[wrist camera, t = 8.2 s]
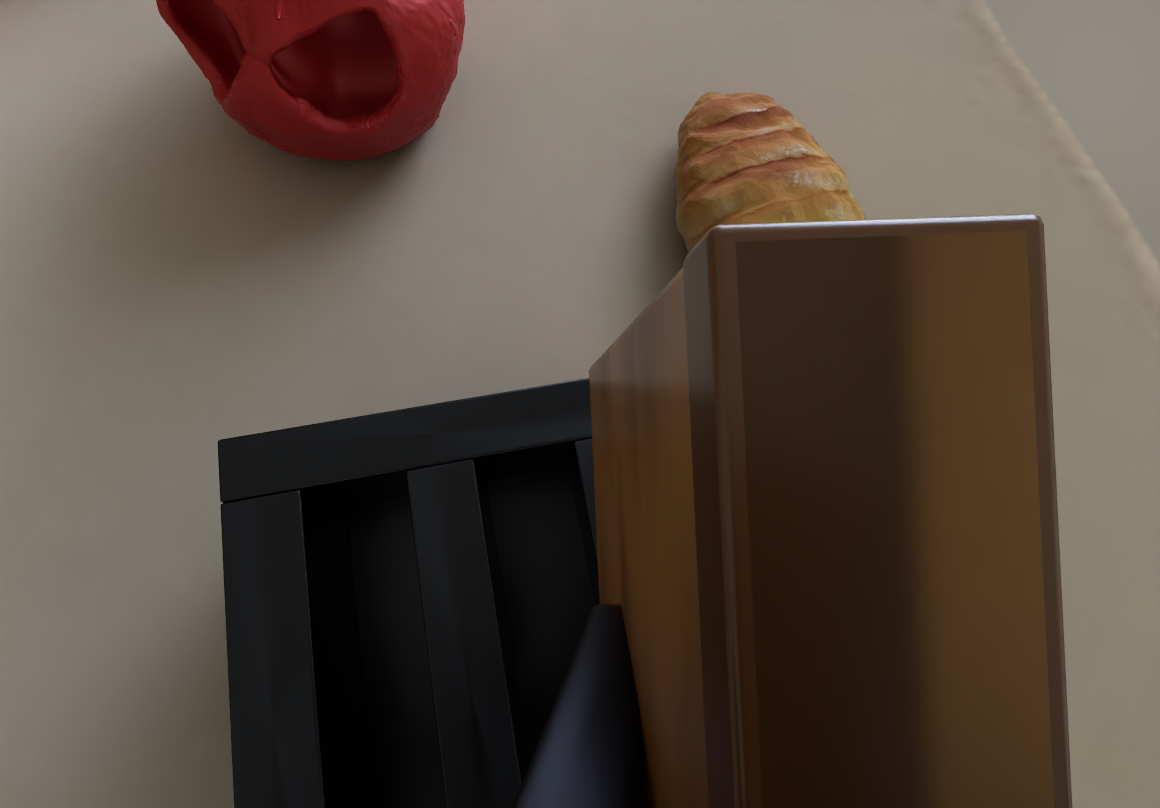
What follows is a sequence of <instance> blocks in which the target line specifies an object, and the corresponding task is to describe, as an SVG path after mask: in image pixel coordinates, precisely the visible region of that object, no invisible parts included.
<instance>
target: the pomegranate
mask: <svg viewBox="0 0 1160 808" xmlns="http://www.w3.org/2000/svg"><path fill="white" fill-rule="evenodd" d="M156 1H157V6H158V10H159V13H160V15H161V16H162V18H163V19H164V20H165V22H166V23H167V24H168V25H169V27H170V28H171V29H172V30H173V32H174V33H175V34H176V35H177V36H178V38H179V39H180V41H181V42H182V43H183V45H184V46H185V48H186V49H187V51H188V53H189V54H190V55H191V57H192V58H193V60H194V61H195V62H196V64H197V65H198V66H199V68H200V69H201V70H202V72H203V74H204V75H205V77H206V78H207V79H208V80H209V82H210V84H211V86H212V90H213V93H214V96H215V97H216V99H217V100H218V101H219V103H220V104H221V105H222V108H223V109H224V111H225V113H226V114H227V115H228V116H229V117H231V118H232V119H233V120H234V121H236V122H238V123H239V124H240V125H241V126H242V127H244V128H245V129H246V130H247V131H248V132H249V133H251V134H252V135H254V136H255V137H257V138H259V139H261V140H265V141H266V142H268V143H269V144H271V145H273V146H276V147H277V148H279V149H280V150H283V151H286V152H289V153H291V154H296V155H300V156H304V157H309V158H321V159H329V160H337V161H343V160H355V159H366V158H372V157H377V156H380V155H382V154H386V153H387V152H389V151H392V150H395V149H397V148H399V147H401V146H403V145H405V144H407V143H409V142H410V141H412V140H413V139H415V138H417V137H419V136H420V135H422V134H423V133H424V132H425V131H427V130H429V129H430V128H431V127H432V126H433V124H434V123H435V121H436V120H437V118H438V117H439V113H440V110H441V107H442V104H443V103H444V101H445V98H446V95H447V94H448V92H449V89H450V87H451V84H452V82H453V80H454V79H455V77H456V74H457V62H458V56H459V54H460V51H461V45H462V41H463V33H464V25H465V14H464V4H463V1H464V0H156Z"/></svg>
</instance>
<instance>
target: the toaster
mask: <svg viewBox="0 0 1160 808" xmlns="http://www.w3.org/2000/svg"><path fill="white" fill-rule="evenodd" d="M218 459H219V481H220V500H221V502H223V504H221V525H222V547H223V569H224V591H225V612H226V634H227V656H228V678H229V700H230V722H231V744H232V766H233V788H234V808H512V807H513V804H514V802H515V799H516V797H517V794H518V792H519V789H520V787H521V784H522V782H523V779H524V777H525V774H526V772H527V769H528V767H529V764H530V762H531V759H532V757H533V754H534V752H535V749H536V747H537V744H538V742H539V739H540V737H541V734H542V732H543V729H544V727H545V724H546V722H547V719H548V717H549V714H550V712H551V709H552V707H553V704H554V702H555V699H556V697H557V694H558V692H559V689H560V687H561V684H562V682H563V679H564V677H565V674H566V672H567V669H568V667H569V664H570V662H571V659H572V657H573V654H574V652H575V649H576V647H577V644H578V642H579V639H580V637H581V634H582V632H583V629H584V627H585V624H586V622H587V619H588V617H589V614H590V612H591V609H592V608H593V606H594V605H596V604H600V598H599V576H598V555H597V533H596V512H595V490H594V469H593V448H592V426H591V405H590V383H589V378H587V379H581V380H575V381H569V382H563V383H557V384H551V385H545V386H539V387H533V388H527V389H521V390H515V391H509V392H503V393H497V394H491V395H485V396H479V397H473V398H467V399H461V400H455V401H449V402H443V403H437V404H431V405H425V406H419V407H413V408H407V409H401V410H395V411H389V412H383V413H377V414H371V415H365V416H359V417H353V418H347V419H341V420H335V421H329V422H323V423H317V424H311V425H305V426H299V427H293V428H287V429H281V430H275V431H269V432H263V433H257V434H251V435H245V436H239V437H233V438H227V439H221V440H219V441H218Z"/></svg>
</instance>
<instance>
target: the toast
mask: <svg viewBox="0 0 1160 808" xmlns="http://www.w3.org/2000/svg"><path fill="white" fill-rule="evenodd" d="M589 383H590V405H591V426H592V448H593V469H594V490H595V512H596V533H597V555H598V576H599V598H600V604H620V605H621V608H622V613H623V618H624V624H625V629H626V635H627V640H628V646H629V651H630V657H631V662H632V668H633V673H634V679H635V684H636V690H637V696H638V702H639V709H640V725H639V764H638V803H637V808H1072V794H1071V773H1070V753H1069V732H1068V712H1067V692H1066V671H1065V651H1064V630H1063V610H1062V589H1061V569H1060V549H1059V528H1058V508H1057V487H1056V467H1055V446H1054V426H1053V406H1052V385H1051V365H1050V344H1049V324H1048V303H1047V283H1046V263H1045V242H1044V224H1043V222H1042V220H1041V218H1040V217H1038V216H1035V215H1030V214H1011V215H982V216H954V217H926V218H898V219H869V220H841V221H813V222H784V223H756V224H728V225H718V226H715V227H713V228H711V229H709V231H708V232H707V233H706V234H705V235H704V236H703V237H702V239H701V240H700V241H699V242H698V243H697V244H696V245H695V247H694V248H693V249H692V250H691V251H690V252H689V253H688V255H687V256H686V258H685V260H684V263H683V268H682V269H681V270H680V271H679V272H678V273H677V274H676V275H675V276H674V278H673V279H672V280H671V281H670V282H669V283H668V284H667V285H666V286H665V287H664V288H663V289H662V291H661V292H660V293H659V294H658V295H657V296H656V297H655V298H654V299H653V300H652V301H651V302H650V304H649V305H648V306H647V307H646V308H645V309H644V310H643V311H642V312H641V313H640V314H639V315H638V317H637V318H636V319H635V320H634V321H633V322H632V323H631V324H630V325H629V326H628V327H627V328H626V330H625V331H624V332H623V333H622V334H621V335H620V336H619V337H618V338H617V339H616V340H615V341H614V343H613V344H612V345H611V346H610V347H609V348H608V349H607V350H606V351H605V352H604V353H603V354H602V356H601V357H600V358H599V359H598V360H597V361H596V362H595V363H594V364H593V365H592V366H591V367H590V370H589Z"/></svg>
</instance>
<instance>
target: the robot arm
mask: <svg viewBox="0 0 1160 808" xmlns="http://www.w3.org/2000/svg"><path fill="white" fill-rule="evenodd" d="M639 725H640V709H639V702H638V696H637V690H636V684H635V679H634V673H633V668H632V662H631V657H630V651H629V646H628V640H627V635H626V629H625V624H624V618H623V613H622V608H621V605H620V604H596V605H594V606H593V608H592V609H591V612H590V614H589V617H588V619H587V622H586V624H585V627H584V629H583V632H582V634H581V637H580V639H579V642H578V644H577V647H576V649H575V652H574V654H573V657H572V659H571V662H570V664H569V667H568V669H567V672H566V674H565V677H564V679H563V682H562V684H561V687H560V689H559V692H558V694H557V697H556V699H555V702H554V704H553V707H552V709H551V712H550V714H549V717H548V719H547V722H546V724H545V727H544V729H543V732H542V734H541V737H540V739H539V742H538V744H537V747H536V749H535V752H534V754H533V757H532V759H531V762H530V764H529V767H528V769H527V772H526V774H525V777H524V779H523V782H522V784H521V787H520V789H519V792H518V794H517V797H516V799H515V802H514V804H513V807H512V808H637V803H638V764H639Z"/></svg>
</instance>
